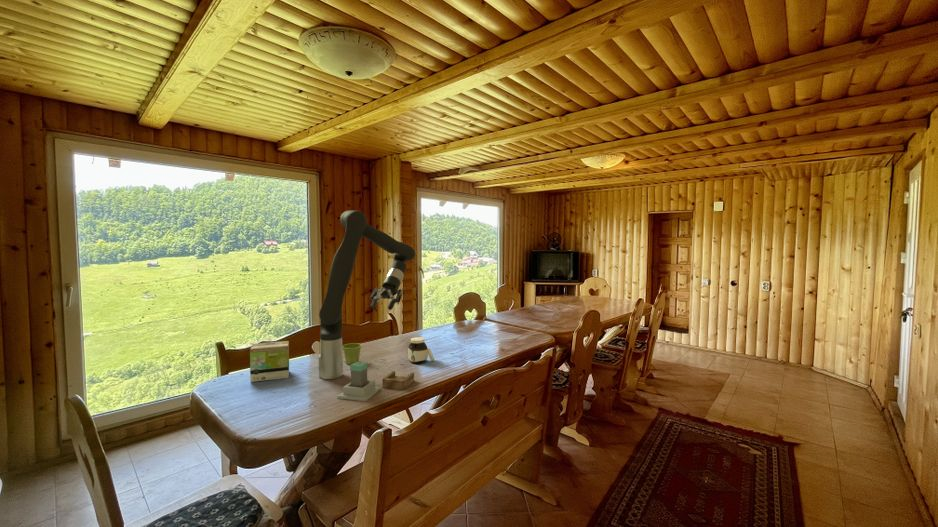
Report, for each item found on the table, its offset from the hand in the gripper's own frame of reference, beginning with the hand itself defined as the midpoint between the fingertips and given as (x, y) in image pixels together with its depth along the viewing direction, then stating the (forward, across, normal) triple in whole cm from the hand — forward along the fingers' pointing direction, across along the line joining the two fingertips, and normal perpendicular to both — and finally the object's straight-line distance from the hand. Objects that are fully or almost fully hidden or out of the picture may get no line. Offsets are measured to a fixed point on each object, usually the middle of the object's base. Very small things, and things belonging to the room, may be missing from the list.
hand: (380, 308), depth 167 cm
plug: (+35, +2, +7) cm, 36 cm away
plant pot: (+13, -24, +30) cm, 41 cm away
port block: (+36, +2, +8) cm, 36 cm away
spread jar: (+4, +8, +40) cm, 41 cm away
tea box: (+33, -47, +11) cm, 58 cm away
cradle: (+26, +12, +18) cm, 33 cm away
